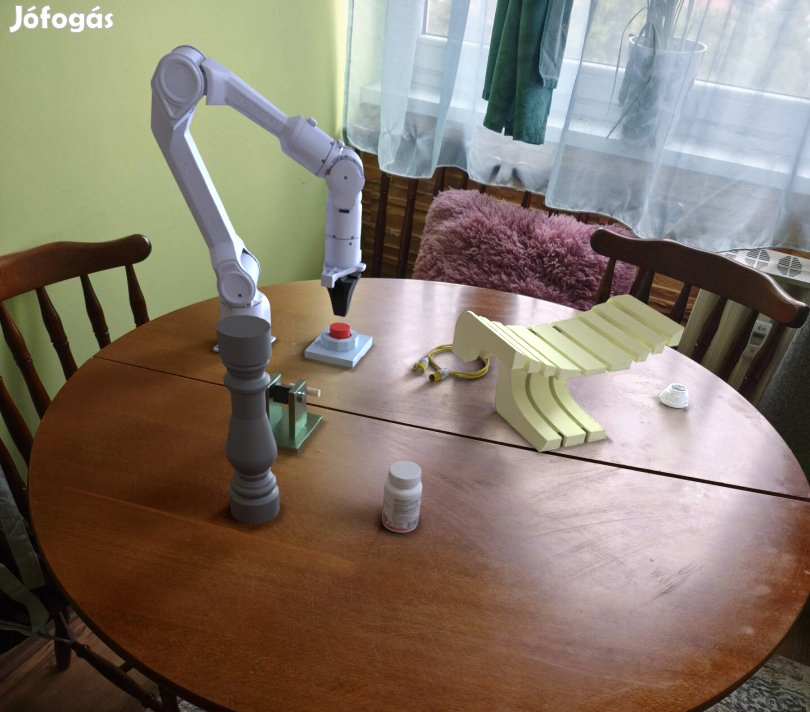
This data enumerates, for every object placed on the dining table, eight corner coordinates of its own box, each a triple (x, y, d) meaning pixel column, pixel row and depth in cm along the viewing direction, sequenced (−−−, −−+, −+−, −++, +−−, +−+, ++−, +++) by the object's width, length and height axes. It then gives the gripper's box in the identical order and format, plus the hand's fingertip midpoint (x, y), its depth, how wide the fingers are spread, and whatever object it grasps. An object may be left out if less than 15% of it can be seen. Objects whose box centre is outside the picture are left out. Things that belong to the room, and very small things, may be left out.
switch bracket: (274, 411, 108) (272, 362, 103) (322, 422, 107) (323, 373, 102) (246, 443, 101) (242, 392, 95) (297, 455, 100) (296, 404, 94)
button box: (326, 335, 131) (327, 317, 128) (371, 345, 129) (373, 327, 127) (304, 359, 123) (304, 340, 120) (352, 370, 121) (353, 351, 119)
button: (333, 330, 126) (333, 320, 124) (352, 334, 125) (352, 324, 124) (326, 337, 123) (326, 328, 122) (345, 341, 122) (346, 332, 121)
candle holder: (288, 504, 91) (283, 321, 75) (265, 532, 86) (255, 343, 70) (245, 492, 92) (232, 309, 76) (221, 518, 87) (201, 330, 71)
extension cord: (397, 355, 127) (398, 345, 126) (471, 346, 133) (473, 336, 132) (426, 386, 119) (427, 376, 118) (504, 375, 125) (506, 365, 124)
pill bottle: (380, 510, 92) (384, 457, 86) (415, 511, 92) (422, 458, 87) (382, 533, 88) (387, 480, 83) (419, 534, 89) (426, 481, 83)
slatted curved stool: (588, 385, 125) (617, 287, 114) (646, 430, 115) (684, 327, 103) (443, 409, 114) (458, 303, 102) (492, 461, 103) (516, 350, 92)
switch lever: (289, 394, 109) (291, 378, 108) (319, 401, 108) (321, 385, 107) (263, 399, 99) (265, 382, 98) (296, 406, 98) (298, 390, 98)
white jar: (666, 392, 126) (653, 401, 123) (671, 378, 124) (659, 386, 121) (691, 403, 123) (679, 412, 120) (697, 389, 121) (685, 397, 118)
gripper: (351, 251, 107) (348, 335, 115) (379, 226, 117) (374, 304, 126) (308, 243, 108) (308, 326, 116) (340, 219, 118) (338, 297, 127)
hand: (340, 314), depth 121 cm, fingers closed
